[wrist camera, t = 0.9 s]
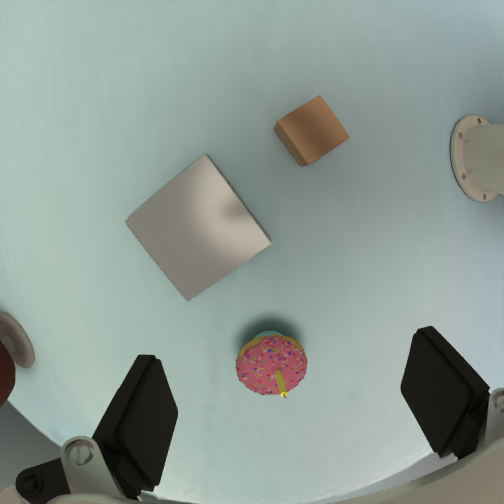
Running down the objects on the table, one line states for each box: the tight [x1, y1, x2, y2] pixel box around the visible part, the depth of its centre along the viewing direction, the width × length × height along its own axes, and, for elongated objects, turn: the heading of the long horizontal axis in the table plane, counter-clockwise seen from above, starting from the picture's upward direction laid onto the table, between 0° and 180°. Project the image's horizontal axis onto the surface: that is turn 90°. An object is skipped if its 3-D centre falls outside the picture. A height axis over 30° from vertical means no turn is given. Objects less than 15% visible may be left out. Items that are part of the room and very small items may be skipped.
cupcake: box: [235, 330, 307, 399], centre depth 30 cm, size 9×8×12 cm
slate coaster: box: [124, 154, 271, 302], centre depth 31 cm, size 12×12×1 cm
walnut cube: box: [274, 95, 350, 166], centre depth 26 cm, size 5×5×5 cm
